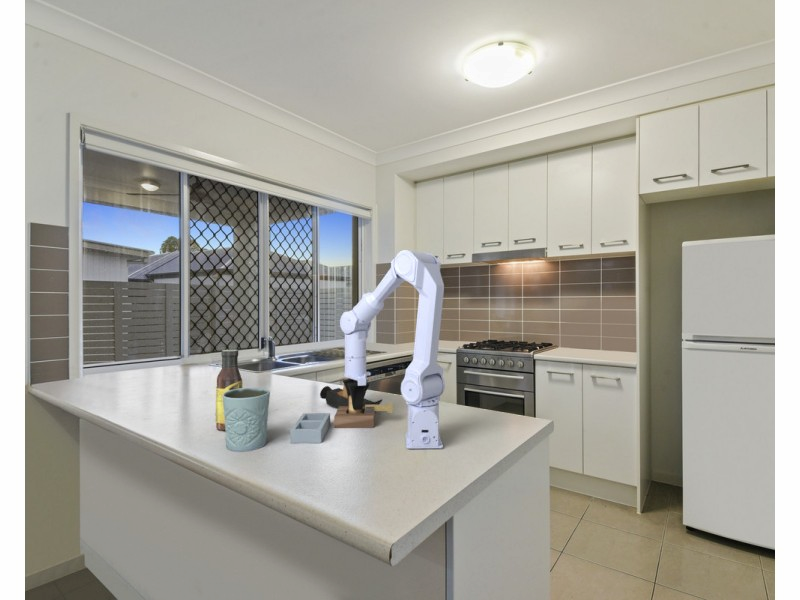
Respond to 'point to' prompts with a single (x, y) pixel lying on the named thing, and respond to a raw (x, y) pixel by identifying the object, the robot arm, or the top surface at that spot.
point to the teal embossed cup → (246, 418)
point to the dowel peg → (352, 407)
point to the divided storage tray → (310, 428)
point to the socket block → (354, 418)
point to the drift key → (381, 407)
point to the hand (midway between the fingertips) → (355, 407)
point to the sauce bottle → (226, 383)
